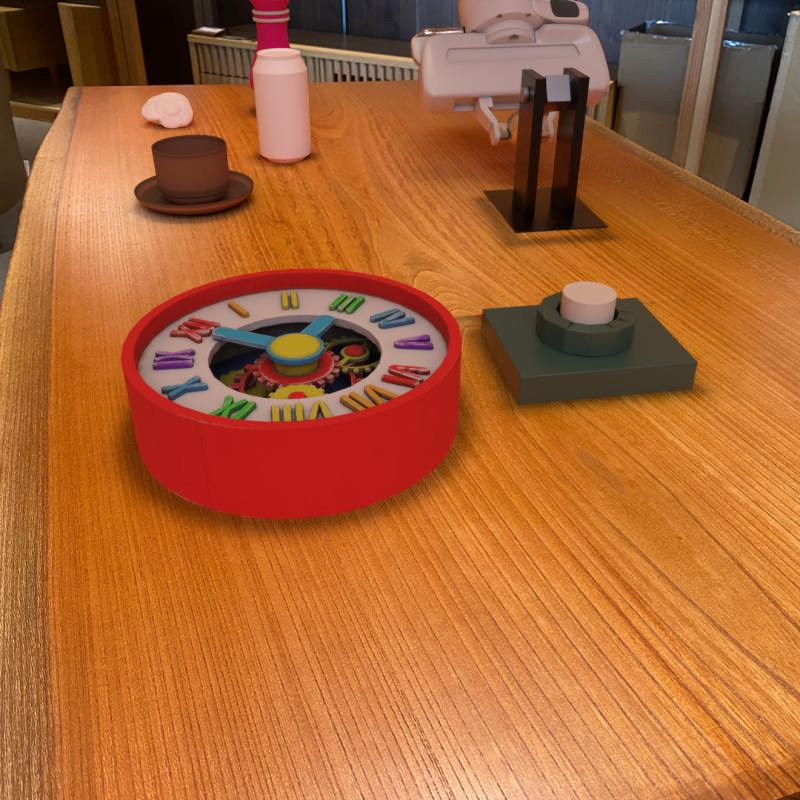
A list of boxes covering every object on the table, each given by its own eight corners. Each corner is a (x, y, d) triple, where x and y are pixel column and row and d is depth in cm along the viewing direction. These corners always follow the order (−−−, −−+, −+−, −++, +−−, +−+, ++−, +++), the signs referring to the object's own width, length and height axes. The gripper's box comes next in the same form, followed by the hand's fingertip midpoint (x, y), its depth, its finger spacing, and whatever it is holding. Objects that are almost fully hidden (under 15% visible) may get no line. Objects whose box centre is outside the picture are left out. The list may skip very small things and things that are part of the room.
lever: (502, 151, 88) (499, 117, 88) (535, 150, 89) (532, 116, 89) (540, 108, 75) (537, 68, 75) (579, 107, 76) (575, 67, 76)
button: (602, 302, 59) (605, 279, 58) (621, 325, 56) (625, 301, 55) (552, 305, 59) (555, 282, 58) (570, 329, 56) (573, 305, 55)
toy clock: (380, 467, 39) (42, 381, 45) (382, 560, 42) (65, 468, 49) (503, 296, 55) (239, 251, 61) (498, 374, 58) (246, 323, 64)
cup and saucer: (125, 196, 89) (115, 137, 86) (234, 179, 94) (228, 123, 91) (152, 232, 80) (142, 168, 77) (271, 212, 85) (266, 151, 82)
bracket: (482, 201, 88) (490, 62, 80) (565, 197, 89) (580, 59, 82) (514, 244, 78) (526, 89, 70) (606, 238, 79) (628, 85, 72)
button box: (632, 323, 64) (640, 274, 62) (692, 390, 56) (703, 337, 54) (480, 335, 63) (483, 285, 60) (518, 406, 54) (523, 352, 52)
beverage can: (250, 157, 101) (240, 51, 95) (292, 148, 105) (285, 45, 98) (279, 169, 97) (271, 59, 91) (322, 158, 101) (317, 52, 94)
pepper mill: (285, 104, 124) (275, -49, 114) (313, 113, 120) (305, -45, 109) (243, 111, 121) (228, -46, 110) (270, 121, 116) (257, -42, 105)
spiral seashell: (194, 121, 117) (195, 94, 114) (190, 138, 113) (191, 110, 110) (142, 113, 116) (142, 85, 113) (136, 130, 112) (136, 101, 109)
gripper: (411, 9, 86) (430, 129, 82) (601, 3, 89) (626, 119, 85) (404, 49, 92) (421, 162, 89) (582, 43, 95) (604, 152, 92)
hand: (523, 141), depth 87 cm, fingers closed on lever, 3 cm apart
